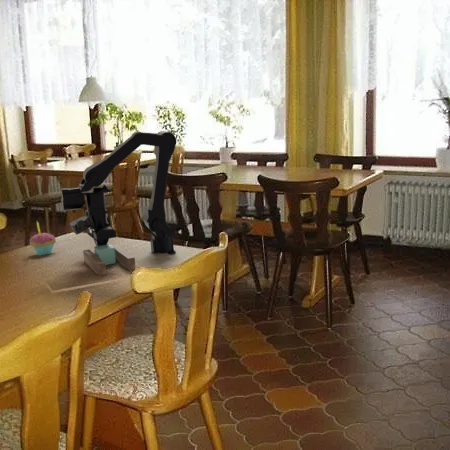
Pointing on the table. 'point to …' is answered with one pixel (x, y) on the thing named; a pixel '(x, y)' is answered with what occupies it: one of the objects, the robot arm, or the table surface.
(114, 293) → the table surface
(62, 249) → the table surface
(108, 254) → the teal block
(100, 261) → the chute
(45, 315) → the table surface
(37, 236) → the cupcake
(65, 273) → the table surface
